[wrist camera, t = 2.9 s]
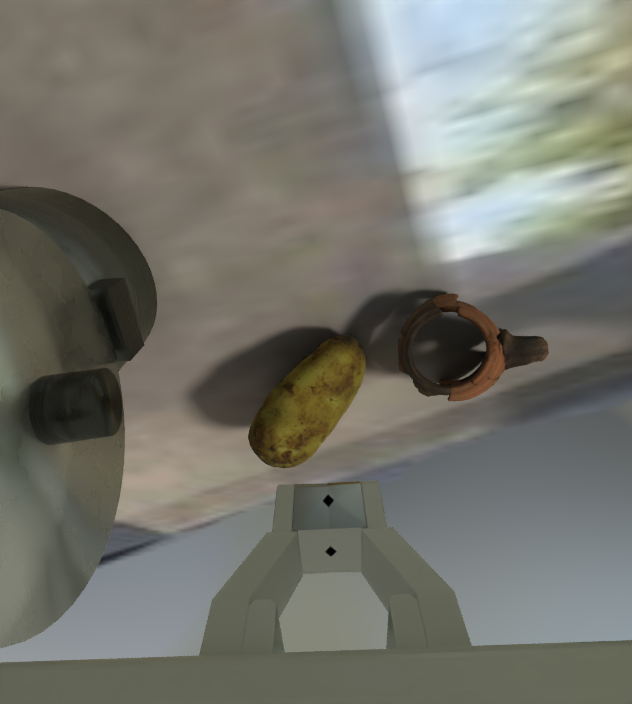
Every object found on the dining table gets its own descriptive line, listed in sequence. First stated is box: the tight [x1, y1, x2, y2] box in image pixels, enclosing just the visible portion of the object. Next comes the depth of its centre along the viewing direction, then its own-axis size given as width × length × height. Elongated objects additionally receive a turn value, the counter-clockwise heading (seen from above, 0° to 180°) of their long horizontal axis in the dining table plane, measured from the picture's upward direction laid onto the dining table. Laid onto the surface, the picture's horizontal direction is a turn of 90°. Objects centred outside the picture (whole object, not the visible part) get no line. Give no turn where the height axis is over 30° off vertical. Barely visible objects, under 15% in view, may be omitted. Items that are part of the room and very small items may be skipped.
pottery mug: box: [398, 294, 549, 401], centre depth 34 cm, size 12×10×8 cm
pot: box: [0, 187, 157, 371], centre depth 29 cm, size 21×17×10 cm
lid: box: [0, 209, 125, 648], centre depth 17 cm, size 17×17×3 cm
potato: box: [248, 335, 366, 468], centre depth 35 cm, size 8×13×8 cm, turn 121°
